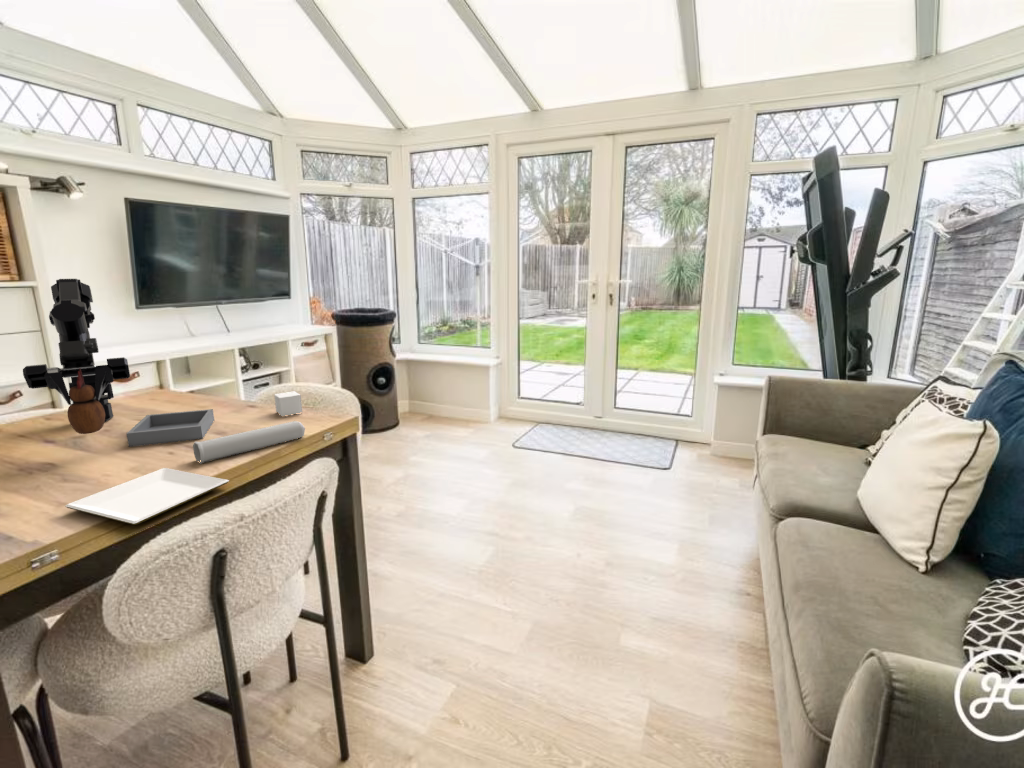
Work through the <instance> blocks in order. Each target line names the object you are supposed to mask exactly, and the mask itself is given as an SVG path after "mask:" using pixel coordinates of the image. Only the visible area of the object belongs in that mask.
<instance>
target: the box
mask: <svg viewBox="0 0 1024 768" xmlns="http://www.w3.org/2000/svg"><path fill="white" fill-rule="evenodd" d="M213 421H214V422H215V416H214V409H211V408H210V409H209V408H208V409H200V410H199V409H197V410H189V411H188V410H187V411H179V412H178V411H177V412H166V413H153V414H147V415H145V416H144V417H143V418H141V420H140V421H139V422H137V424H135V425H133V427H132V428H131V429H130V430H128V431H127V432H126V434H125V435H126V439H127V444H128V447H129V448H132V447H140V446H141V445H142V446H150V445H149V444H152V445H158V443H161V444H168V442H170V443H177V442H178V441H180V442H187V441H186V440H189V441H196V440H195V439H198V440H203V439H204V438H205V436H206V435H207V433H208V432H207V431H209V430H210V428H211V427H212V425H213V424H214V422H213ZM212 423H213V424H212ZM210 426H211V427H210ZM208 429H209V430H208ZM205 434H206V435H205ZM203 437H204V438H203Z"/></svg>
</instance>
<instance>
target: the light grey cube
mask: <svg viewBox="0 0 1024 768" xmlns="http://www.w3.org/2000/svg"><path fill="white" fill-rule="evenodd" d="M273 395H274V405H275V413H276V412H278V413H279V414H280V415H281V416H285V415H291V414H296V413H300V412H302V413H303V406H302V395H301V394H300V393H298V392H297V391H295V390H293V391H287V392H280V393H274V394H273ZM280 415H279V416H280ZM281 416H280V417H281ZM291 416H292V415H291Z"/></svg>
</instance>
